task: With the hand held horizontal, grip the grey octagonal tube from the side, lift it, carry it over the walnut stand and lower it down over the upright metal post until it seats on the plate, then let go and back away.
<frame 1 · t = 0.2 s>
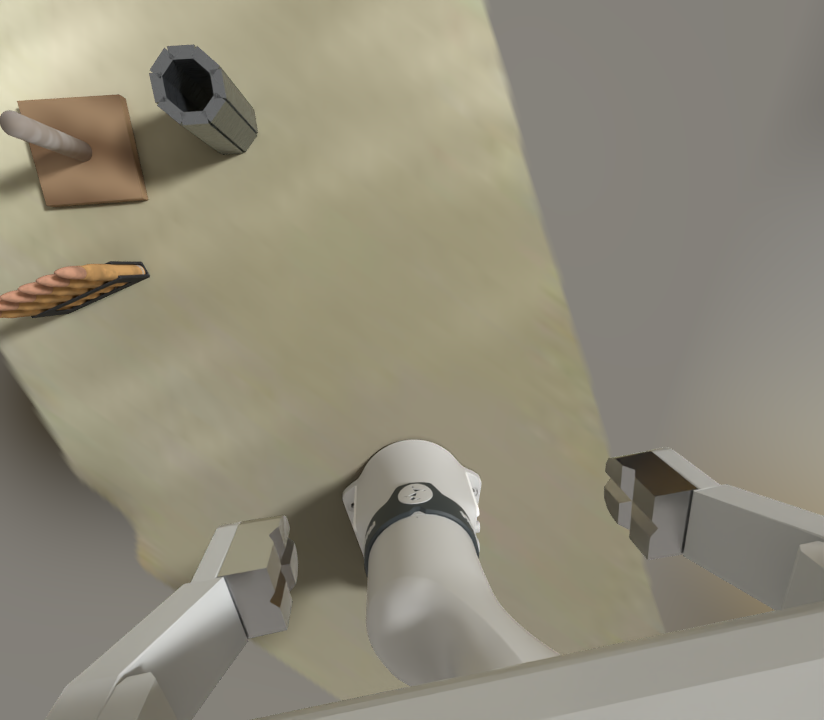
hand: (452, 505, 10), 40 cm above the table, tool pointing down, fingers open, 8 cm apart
ammunition clip: (105, 287, 46), on the table
grey octagonal tube: (227, 123, 43), on the table
stand: (89, 154, 42), on the table
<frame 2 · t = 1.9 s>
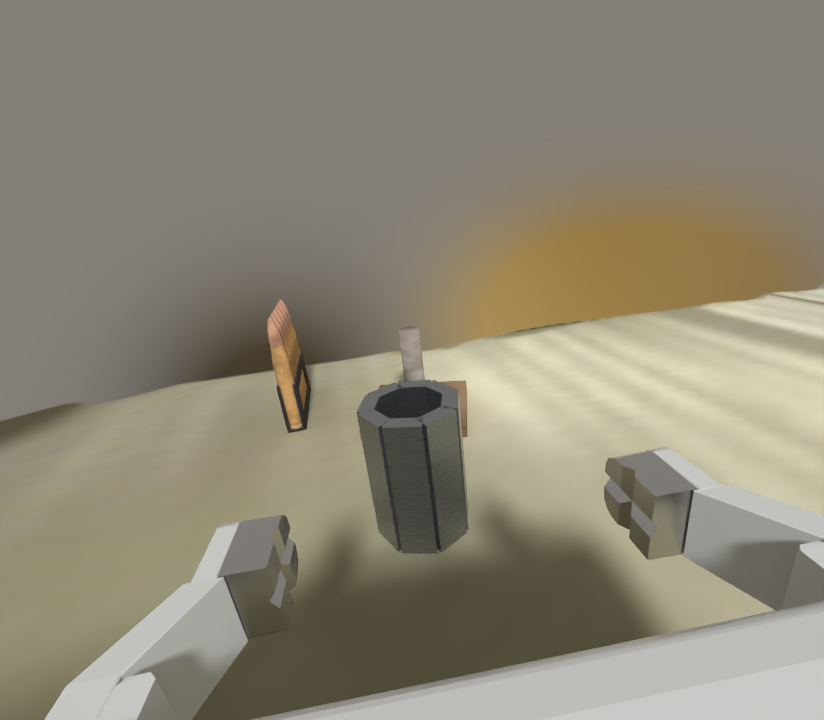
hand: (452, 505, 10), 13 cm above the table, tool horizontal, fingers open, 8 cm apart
ammunition clip: (300, 410, 45), on the table
grey octagonal tube: (424, 517, 27), on the table
stand: (418, 411, 41), on the table
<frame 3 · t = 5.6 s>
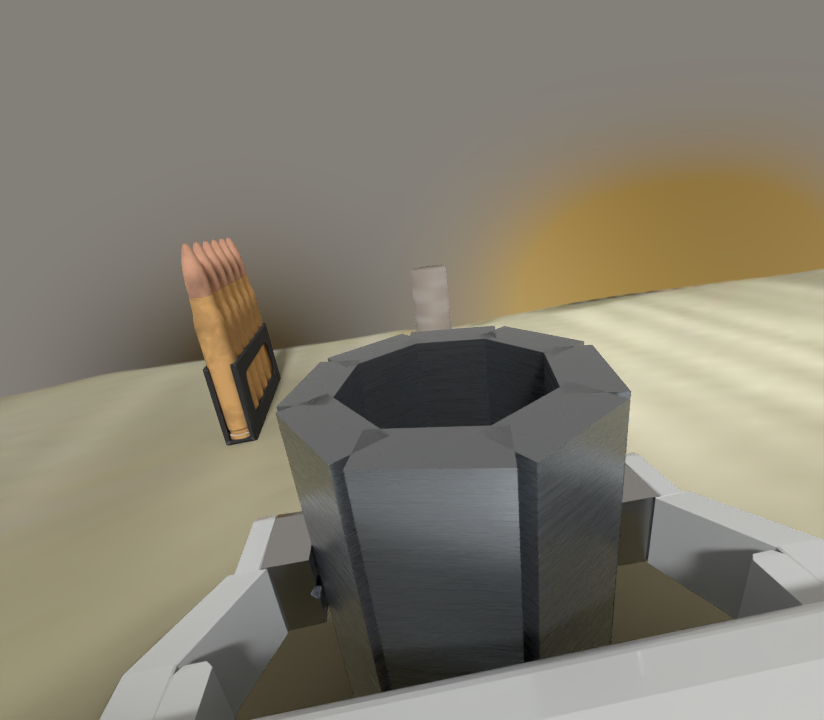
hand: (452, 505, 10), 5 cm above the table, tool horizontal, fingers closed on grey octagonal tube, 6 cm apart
ammunition clip: (258, 408, 29), on the table
grey octagonal tube: (474, 674, 11), on the table, touching gripper
stand: (442, 411, 25), on the table
when the fingers open (7 cm above the table, at t = 12.0 s): grey octagonal tube drops 1 cm, resting on stand.
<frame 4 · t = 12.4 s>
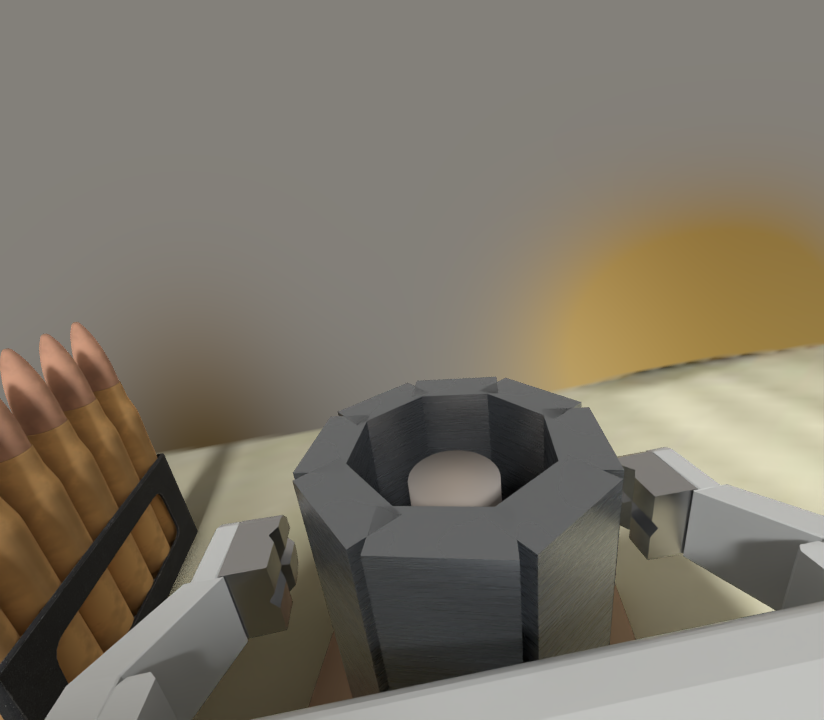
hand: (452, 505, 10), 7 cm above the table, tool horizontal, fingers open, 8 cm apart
ammunition clip: (132, 634, 16), on the table
grey octagonal tube: (476, 706, 11), point 1 cm above the table, touching stand
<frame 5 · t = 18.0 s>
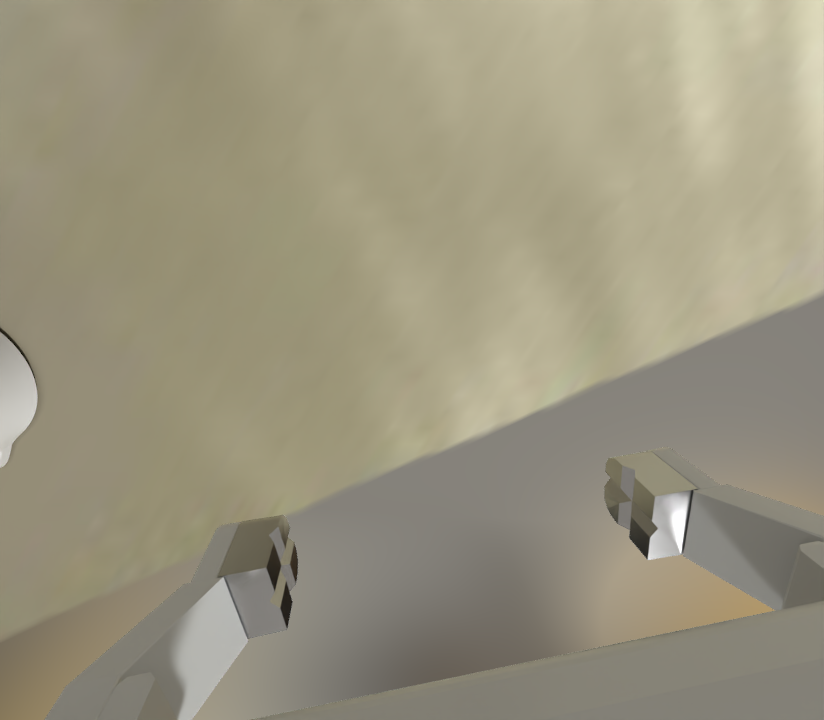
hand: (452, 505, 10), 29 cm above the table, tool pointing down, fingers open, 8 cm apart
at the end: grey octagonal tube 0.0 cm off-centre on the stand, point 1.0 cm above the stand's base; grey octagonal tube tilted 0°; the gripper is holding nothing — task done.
